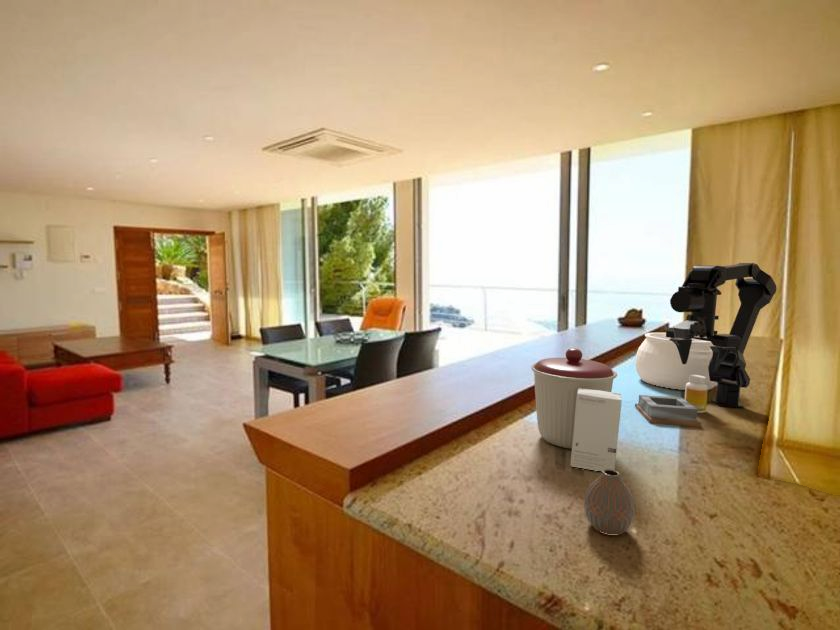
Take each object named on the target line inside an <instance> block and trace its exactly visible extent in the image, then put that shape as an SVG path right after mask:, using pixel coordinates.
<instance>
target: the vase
mask: <svg viewBox="0 0 840 630" xmlns="http://www.w3.org/2000/svg"><path fill="white" fill-rule="evenodd" d="M634 501H635V500H634V498H633V495H632V492H631V490H630V489H629V488H628V486H627V485H626V483H625V482H624V480H623V478H622V476H621V474H620V472H619V471H617V470H611V469H605V470H603V471H602V473H601V472H600V475H599V476H598V477H596V478H595V479H594V480H593V481H592V482H591V483H590V484H589V485H588V487H587V489H586V491H585V494H584V502H583V503H584V504H583V506H584V507H583V509H584V512H585V516H586V517H585V518H586V519H587V521H588V523H589V524H590V526H591V527H592V526H593V527H594V528H595V529H596V530H595V529H594V528H593V527H592V528H593V529H594V530H595V531H597V530H598V531H601V532H604V533H607V534H620V535H622V534H624V533H625V532H627V531H628V530H629V529H630V526H632V523H633V520H634V517H635V502H634ZM598 531H597V532H598ZM621 533H622V534H621Z"/></svg>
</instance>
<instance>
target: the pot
mask: <svg viewBox="0 0 840 630" xmlns="http://www.w3.org/2000/svg"><path fill="white" fill-rule="evenodd" d="M644 337H645V339H644V340H643V341H642V342H641V344H640V346H639V347H638V349H637V352H636V354H635V362H634V363H635V369H636V372H637V375H638V377H639V378H640V380H641V381H643V382H645V383H647V384H649V385H652V386H655V385H656V387H659V386H660V388H663V387H665V388H664V389H668V388H671V389H670V390H675V389H678V391H684V390H685V386H686V384H687V383H688V382H690V381H689V375H700V376H704V377H706V381H705V383H704V384H705V385H707V387H708V391H709V390H712V389H713V388H715V387H717V382H714V381H710V378H709V371H708V366H709V363H710V362H709V361H710V360H711V358H712V356H713V351H712V350H711V348H710V346H714V345H713V344H712V343H711V342H710V341H704V340H698V339H693V338H692V343H691V347H690V352H689V356H688V360H687V363H686V364H682V361H681V358H680V355H679V351H678V349H677V346H676V344H675V343H673V342H672V341H670V340H669V339H671V338H669V337H666V332H647V333H645V334H644ZM704 338H706V337H704Z"/></svg>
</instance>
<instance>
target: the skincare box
mask: <svg viewBox="0 0 840 630" xmlns="http://www.w3.org/2000/svg"><path fill="white" fill-rule="evenodd" d="M621 411H622V394H621V393H619V392H612V391H611V392H606V391H601V390H592V389H584V388H578V392H577V400H576V409H575V422H574V432H573V442H572V449H571V454H570V463H569V464H570V467H571V466H572V467H578V468H584V469H591V470H597V471H603V470H605V469H611V470H615V468H616V459H617V451H618V450H617V449H618V439H619V433H620V432H619V431H620V429H619V428H620V422H621V421H620V420H621ZM572 467H571V468H572ZM578 468H577V469H578ZM584 469H583V470H584ZM615 471H616V470H615Z"/></svg>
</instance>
